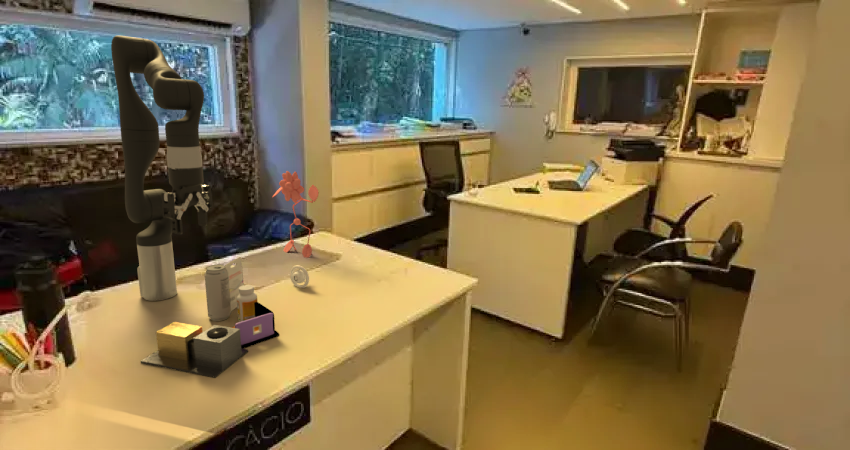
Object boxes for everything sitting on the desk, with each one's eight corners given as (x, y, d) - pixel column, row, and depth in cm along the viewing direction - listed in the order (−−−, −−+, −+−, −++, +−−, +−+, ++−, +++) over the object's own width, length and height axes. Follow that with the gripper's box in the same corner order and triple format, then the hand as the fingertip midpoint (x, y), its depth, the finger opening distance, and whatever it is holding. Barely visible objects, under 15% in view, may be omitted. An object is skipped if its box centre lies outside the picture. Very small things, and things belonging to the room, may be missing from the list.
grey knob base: (140, 363, 106) (136, 332, 104) (179, 339, 118) (177, 311, 116) (214, 378, 102) (212, 346, 100) (248, 351, 113) (246, 323, 111)
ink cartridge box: (230, 300, 142) (227, 254, 139) (245, 301, 141) (242, 256, 138) (213, 311, 134) (209, 263, 131) (229, 313, 133) (225, 265, 130)
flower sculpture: (284, 248, 195) (281, 166, 187) (329, 260, 182) (327, 172, 173) (254, 257, 183) (249, 169, 174) (299, 271, 169) (296, 176, 161)
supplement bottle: (262, 317, 132) (260, 285, 129) (250, 325, 127) (248, 292, 124) (246, 313, 133) (244, 282, 131) (233, 321, 128) (231, 289, 126)
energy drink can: (214, 312, 134) (210, 263, 130) (234, 313, 133) (231, 264, 130) (204, 321, 128) (199, 270, 124) (225, 322, 128) (221, 271, 124)
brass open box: (158, 355, 109) (156, 332, 107) (176, 344, 114) (174, 321, 113) (187, 360, 107) (184, 337, 106) (204, 349, 112) (202, 326, 111)
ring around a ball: (286, 287, 154) (286, 264, 152) (298, 282, 159) (298, 260, 157) (305, 292, 150) (304, 269, 148) (316, 286, 155) (316, 264, 153)
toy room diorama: (281, 336, 122) (280, 312, 120) (236, 351, 113) (234, 326, 112) (259, 321, 130) (258, 298, 128) (216, 334, 121) (214, 310, 120)
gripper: (193, 161, 119) (198, 222, 123) (148, 167, 105) (155, 235, 109) (218, 163, 117) (222, 224, 121) (175, 169, 104) (182, 238, 107)
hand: (190, 229), depth 115 cm, fingers open, 8 cm apart
